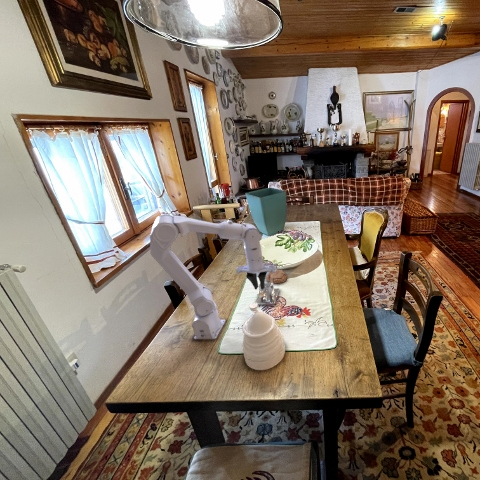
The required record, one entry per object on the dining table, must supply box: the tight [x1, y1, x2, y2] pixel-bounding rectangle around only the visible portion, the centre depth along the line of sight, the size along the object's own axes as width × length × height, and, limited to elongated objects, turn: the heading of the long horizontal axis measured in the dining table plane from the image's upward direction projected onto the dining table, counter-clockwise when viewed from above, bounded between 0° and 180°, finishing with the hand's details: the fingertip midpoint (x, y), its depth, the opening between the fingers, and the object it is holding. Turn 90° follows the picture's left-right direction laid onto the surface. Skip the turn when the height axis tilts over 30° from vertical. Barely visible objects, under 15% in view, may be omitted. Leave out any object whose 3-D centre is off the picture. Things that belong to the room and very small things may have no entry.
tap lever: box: [256, 282, 270, 298], centre depth 103 cm, size 11×3×3 cm, turn 177°
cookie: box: [265, 269, 288, 285], centre depth 122 cm, size 10×11×3 cm
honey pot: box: [241, 302, 286, 371], centre depth 78 cm, size 13×13×18 cm
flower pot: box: [244, 187, 288, 237], centre depth 173 cm, size 20×20×28 cm
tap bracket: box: [255, 281, 280, 306], centre depth 107 cm, size 10×8×7 cm
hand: (259, 288), depth 97 cm, fingers closed
